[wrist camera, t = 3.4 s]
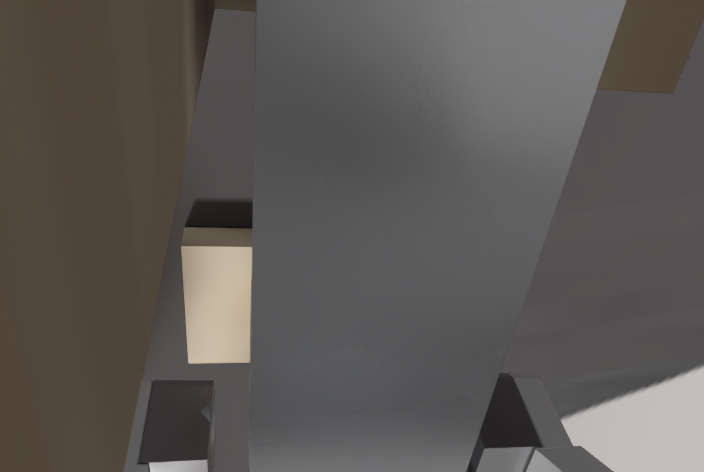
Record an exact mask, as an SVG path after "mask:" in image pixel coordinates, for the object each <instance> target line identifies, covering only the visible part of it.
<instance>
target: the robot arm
mask: <svg viewBox="0 0 704 472" xmlns="http://www.w3.org/2000/svg"><path fill="white" fill-rule="evenodd" d="M214 406H215V383H214V380H154V381H141V385H140V390H139V396H138V401H137V406H136V411H135V416H134V421H133V426H132V431H131V436H130V441H129V446H128V451H127V457H126V462H125V467H124V472H212V470H213V468H214V465H215V443H216V412H215V411H214ZM466 472H613V471H612V470H610V469H609V468H608V467H607V466H605V465H604V464H603V463H602V462H600V461H599V460H598V459H596V458H595V457H594V456H593V455H591V454H590V453H589V452H588V451H586V450H585V449H584V448H582V447H581V446H573V445H572V443H571V441H570V439H569V437H568V435H567V433H566V431H565V429H564V427H563V424H562V422H561V420H560V418H559V416H558V414H557V412H556V410H555V408H554V406H553V404H552V402H551V400H550V398H549V396H548V394H547V392H546V390H545V388H544V386H543V384H542V382H541V380H540V377H539V376H538V375H537V374H536V373H534V372H530V373H507V374H506V373H500V374H499V377H498V380H497V382H496V385H495V388H494V391H493V394H492V397H491V400H490V403H489V406H488V409H487V412H486V415H485V418H484V421H483V424H482V427H481V430H480V432H479V435H478V438H477V441H476V444H475V447H474V450H473V453H472V456H471V459H470V462H469V465H468V468H467V471H466Z"/></svg>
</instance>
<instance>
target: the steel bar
mask: <svg viewBox="0 0 704 472" xmlns="http://www.w3.org/2000/svg"><path fill="white" fill-rule="evenodd" d="M625 3H626V0H256V36H255V98H254V161H253V223H252V285H251V347H250V409H249V471H248V472H466V471H467V468H468V465H469V462H470V459H471V456H472V453H473V450H474V447H475V444H476V441H477V438H478V435H479V432H480V430H481V427H482V424H483V421H484V418H485V415H486V412H487V409H488V406H489V403H490V400H491V397H492V394H493V391H494V388H495V385H496V382H497V380H498V377H499V374H500V371H501V368H502V365H503V362H504V359H505V356H506V353H507V350H508V347H509V344H510V341H511V338H512V335H513V333H514V330H515V327H516V324H517V321H518V318H519V315H520V312H521V309H522V306H523V303H524V300H525V297H526V294H527V291H528V288H529V285H530V283H531V280H532V277H533V274H534V271H535V268H536V265H537V262H538V259H539V256H540V253H541V250H542V247H543V244H544V241H545V238H546V235H547V233H548V230H549V227H550V224H551V221H552V218H553V215H554V212H555V209H556V206H557V203H558V200H559V197H560V194H561V191H562V188H563V186H564V183H565V180H566V177H567V174H568V171H569V168H570V165H571V162H572V159H573V156H574V153H575V150H576V147H577V144H578V141H579V138H580V136H581V133H582V130H583V127H584V124H585V121H586V118H587V115H588V112H589V109H590V106H591V103H592V100H593V97H594V94H595V91H596V88H597V86H598V83H599V80H600V77H601V74H602V71H603V68H604V65H605V62H606V59H607V56H608V53H609V50H610V47H611V44H612V41H613V38H614V36H615V33H616V30H617V27H618V24H619V21H620V18H621V15H622V12H623V9H624V6H625Z"/></svg>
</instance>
